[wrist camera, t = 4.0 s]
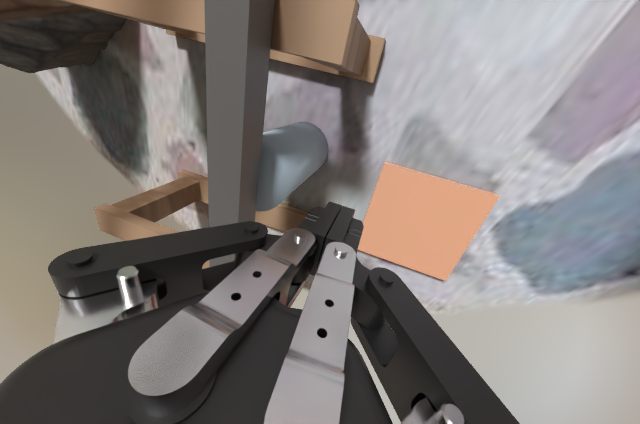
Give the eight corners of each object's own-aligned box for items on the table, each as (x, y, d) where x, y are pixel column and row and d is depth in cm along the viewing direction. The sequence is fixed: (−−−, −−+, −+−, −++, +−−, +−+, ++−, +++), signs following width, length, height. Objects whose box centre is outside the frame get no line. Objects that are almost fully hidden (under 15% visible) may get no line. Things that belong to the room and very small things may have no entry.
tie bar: (276, -18, 10) (251, -40, 9) (248, 294, 20) (233, 313, 18) (235, -26, 11) (203, -48, 9) (226, 285, 20) (210, 303, 18)
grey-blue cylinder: (333, 129, 23) (292, 150, 14) (322, 177, 26) (281, 220, 17) (285, 116, 24) (219, 128, 15) (279, 164, 26) (219, 198, 18)
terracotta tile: (496, 193, 21) (499, 196, 21) (444, 276, 26) (445, 281, 25) (384, 161, 23) (384, 163, 22) (355, 244, 28) (354, 248, 27)
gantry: (385, 41, 19) (369, -10, 10) (328, 242, 29) (293, 313, 19) (172, -4, 22) (7, -74, 13) (185, 191, 32) (96, 231, 23)
